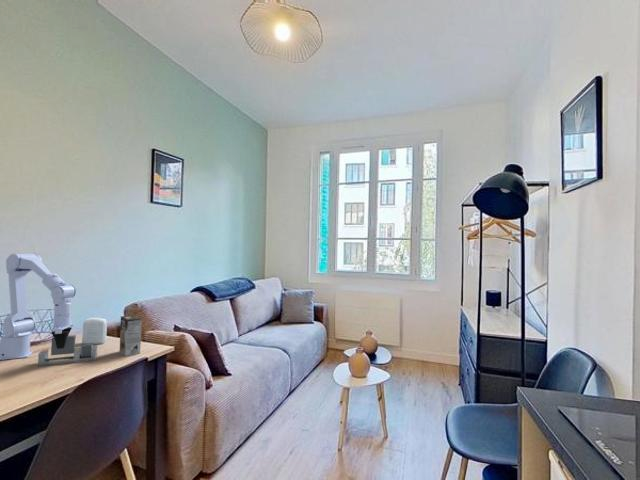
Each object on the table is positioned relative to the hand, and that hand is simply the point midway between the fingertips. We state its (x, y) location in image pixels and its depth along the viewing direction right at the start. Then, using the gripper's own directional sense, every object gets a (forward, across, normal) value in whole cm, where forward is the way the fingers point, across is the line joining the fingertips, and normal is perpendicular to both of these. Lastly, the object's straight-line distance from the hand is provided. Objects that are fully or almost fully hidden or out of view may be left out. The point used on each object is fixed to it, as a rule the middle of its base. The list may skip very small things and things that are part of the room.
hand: (61, 347), depth 137 cm
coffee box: (+6, +3, -25) cm, 26 cm away
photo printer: (+6, +25, -9) cm, 27 cm away
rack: (+6, 0, -3) cm, 7 cm away
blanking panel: (+3, 0, -1) cm, 3 cm away
